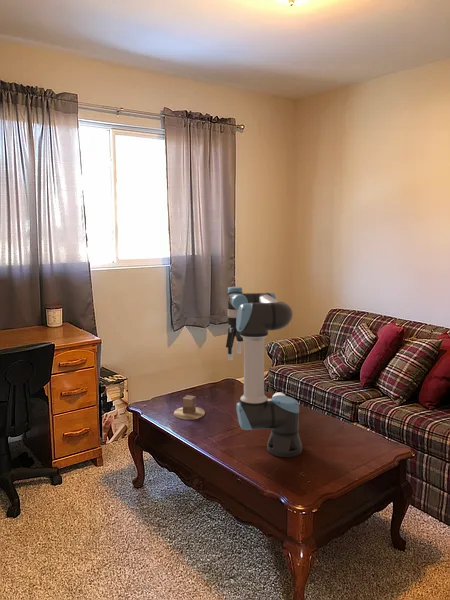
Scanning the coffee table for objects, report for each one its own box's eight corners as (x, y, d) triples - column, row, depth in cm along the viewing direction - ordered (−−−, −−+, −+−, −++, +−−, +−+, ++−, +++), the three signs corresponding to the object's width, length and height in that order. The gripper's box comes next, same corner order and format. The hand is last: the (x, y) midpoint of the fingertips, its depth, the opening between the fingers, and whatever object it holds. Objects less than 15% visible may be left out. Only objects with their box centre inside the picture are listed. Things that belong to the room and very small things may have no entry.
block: (191, 414, 251) (191, 399, 249) (182, 413, 252) (182, 398, 251) (195, 411, 255) (195, 396, 254) (187, 409, 257) (186, 395, 256)
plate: (197, 421, 244) (197, 420, 244) (168, 417, 249) (168, 415, 249) (209, 410, 258) (209, 408, 258) (182, 406, 264) (182, 404, 264)
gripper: (233, 321, 241) (233, 363, 244) (249, 313, 264) (248, 351, 267) (219, 320, 243) (219, 362, 246) (235, 312, 266) (235, 350, 270)
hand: (234, 356), depth 257 cm, fingers open, 13 cm apart
